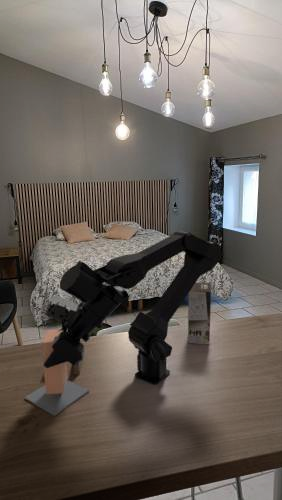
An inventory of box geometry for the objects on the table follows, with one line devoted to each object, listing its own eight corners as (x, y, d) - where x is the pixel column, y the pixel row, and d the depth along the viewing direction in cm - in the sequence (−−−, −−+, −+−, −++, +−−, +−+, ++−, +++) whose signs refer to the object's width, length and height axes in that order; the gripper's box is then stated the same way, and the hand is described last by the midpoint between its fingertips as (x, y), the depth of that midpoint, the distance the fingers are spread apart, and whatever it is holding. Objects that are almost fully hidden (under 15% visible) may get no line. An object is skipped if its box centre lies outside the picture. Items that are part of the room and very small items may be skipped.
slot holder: (83, 356, 95) (83, 345, 95) (79, 374, 87) (78, 363, 86) (55, 357, 95) (54, 347, 94) (48, 375, 86) (47, 364, 86)
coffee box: (209, 345, 100) (211, 291, 97) (187, 343, 102) (187, 290, 98) (210, 331, 109) (211, 282, 106) (189, 330, 110) (189, 281, 107)
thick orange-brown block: (67, 377, 81) (63, 329, 78) (62, 393, 75) (58, 341, 72) (51, 378, 81) (47, 330, 78) (46, 394, 75) (41, 342, 72)
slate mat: (88, 391, 79) (88, 390, 79) (54, 416, 71) (54, 414, 71) (59, 377, 85) (59, 376, 85) (24, 398, 77) (24, 397, 77)
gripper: (73, 273, 82) (31, 318, 84) (59, 300, 64) (5, 357, 66) (108, 303, 84) (66, 347, 86) (104, 338, 66) (50, 392, 68)
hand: (48, 358), depth 76 cm, fingers closed on thick orange-brown block, 6 cm apart
